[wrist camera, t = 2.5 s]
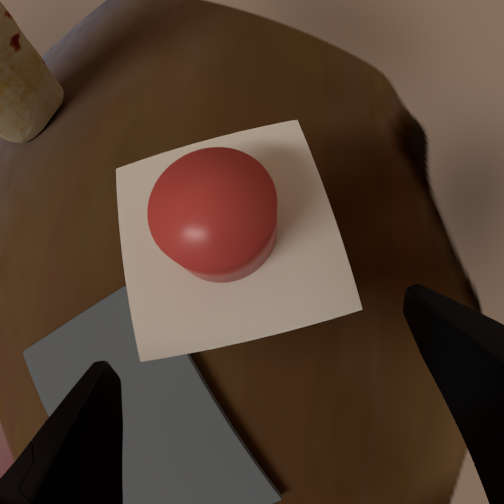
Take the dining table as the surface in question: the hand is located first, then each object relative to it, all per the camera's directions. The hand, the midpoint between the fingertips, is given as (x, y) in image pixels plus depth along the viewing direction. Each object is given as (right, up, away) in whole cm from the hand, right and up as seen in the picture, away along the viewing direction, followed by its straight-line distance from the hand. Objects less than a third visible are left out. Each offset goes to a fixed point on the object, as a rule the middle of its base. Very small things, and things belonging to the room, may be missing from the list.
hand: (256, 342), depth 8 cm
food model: (-22, +15, +15) cm, 31 cm away
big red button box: (0, 0, +9) cm, 9 cm away
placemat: (-7, -9, +8) cm, 14 cm away
